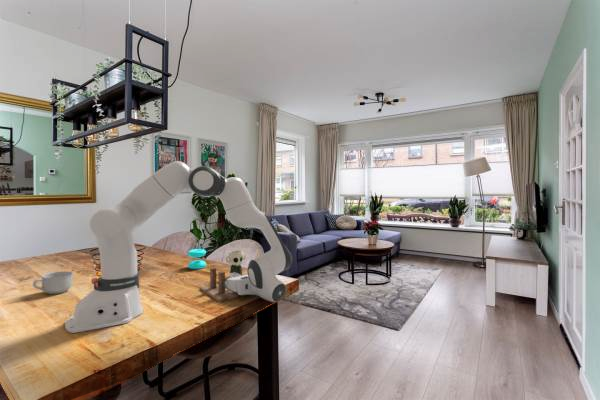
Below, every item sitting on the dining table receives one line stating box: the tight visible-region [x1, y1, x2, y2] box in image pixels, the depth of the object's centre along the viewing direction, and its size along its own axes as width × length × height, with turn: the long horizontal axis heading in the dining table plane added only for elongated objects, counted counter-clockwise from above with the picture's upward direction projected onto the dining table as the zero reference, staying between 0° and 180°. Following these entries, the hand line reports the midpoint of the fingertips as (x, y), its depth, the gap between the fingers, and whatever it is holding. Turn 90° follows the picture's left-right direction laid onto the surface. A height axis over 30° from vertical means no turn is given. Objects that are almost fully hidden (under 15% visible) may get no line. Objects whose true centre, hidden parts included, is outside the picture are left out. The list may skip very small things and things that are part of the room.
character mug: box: [225, 249, 246, 275], centre depth 152 cm, size 11×7×13 cm, turn 130°
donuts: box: [187, 248, 207, 270], centre depth 171 cm, size 10×10×10 cm
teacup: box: [32, 270, 74, 295], centre depth 128 cm, size 14×11×8 cm
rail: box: [229, 272, 243, 278], centre depth 134 cm, size 3×16×4 cm, turn 40°
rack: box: [199, 266, 238, 303], centre depth 127 cm, size 8×20×10 cm, turn 40°
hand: (241, 276), depth 133 cm, fingers open, 8 cm apart
